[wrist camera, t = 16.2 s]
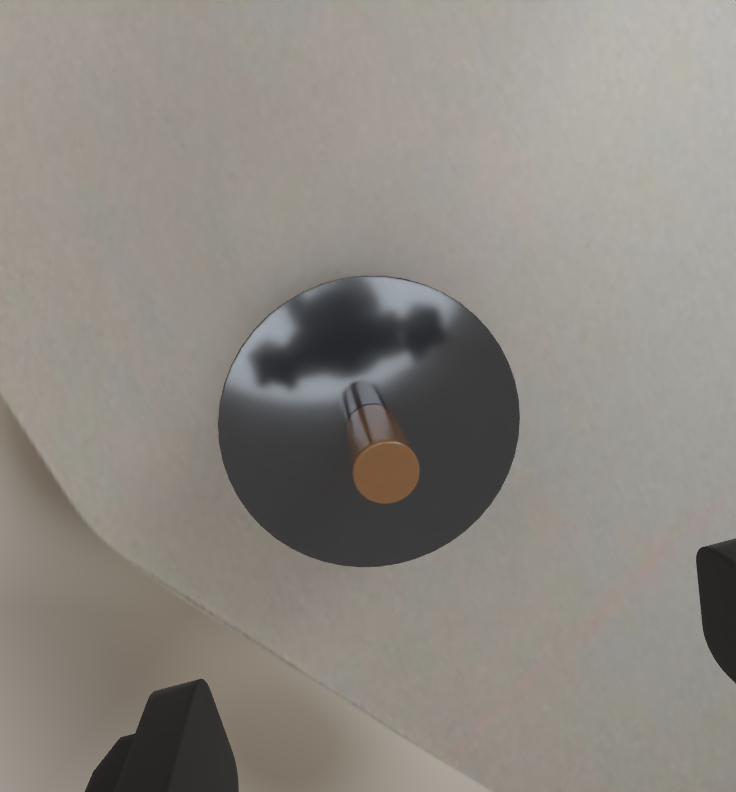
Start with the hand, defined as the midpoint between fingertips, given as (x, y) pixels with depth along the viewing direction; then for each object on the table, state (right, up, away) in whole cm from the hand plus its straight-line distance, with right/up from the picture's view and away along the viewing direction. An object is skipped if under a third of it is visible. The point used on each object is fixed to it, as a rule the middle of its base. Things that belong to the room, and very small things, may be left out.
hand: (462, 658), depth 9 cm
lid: (-1, +3, +15) cm, 15 cm away
